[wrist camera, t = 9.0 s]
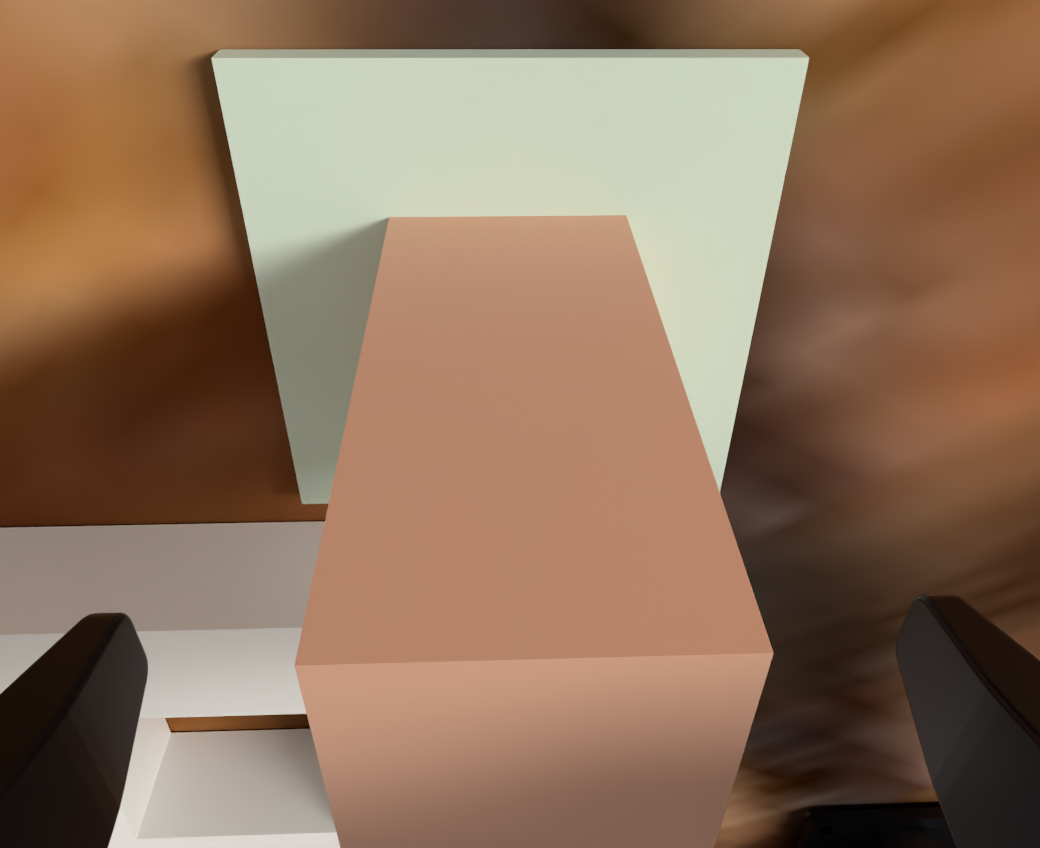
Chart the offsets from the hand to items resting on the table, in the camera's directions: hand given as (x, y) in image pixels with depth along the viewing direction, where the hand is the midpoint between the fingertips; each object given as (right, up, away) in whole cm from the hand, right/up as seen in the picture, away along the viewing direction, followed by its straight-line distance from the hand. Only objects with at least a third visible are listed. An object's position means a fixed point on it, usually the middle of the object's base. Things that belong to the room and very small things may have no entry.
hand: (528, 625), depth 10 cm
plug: (0, +4, +6) cm, 7 cm away
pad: (0, +5, +6) cm, 8 cm away
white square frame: (-7, -4, +13) cm, 15 cm away
